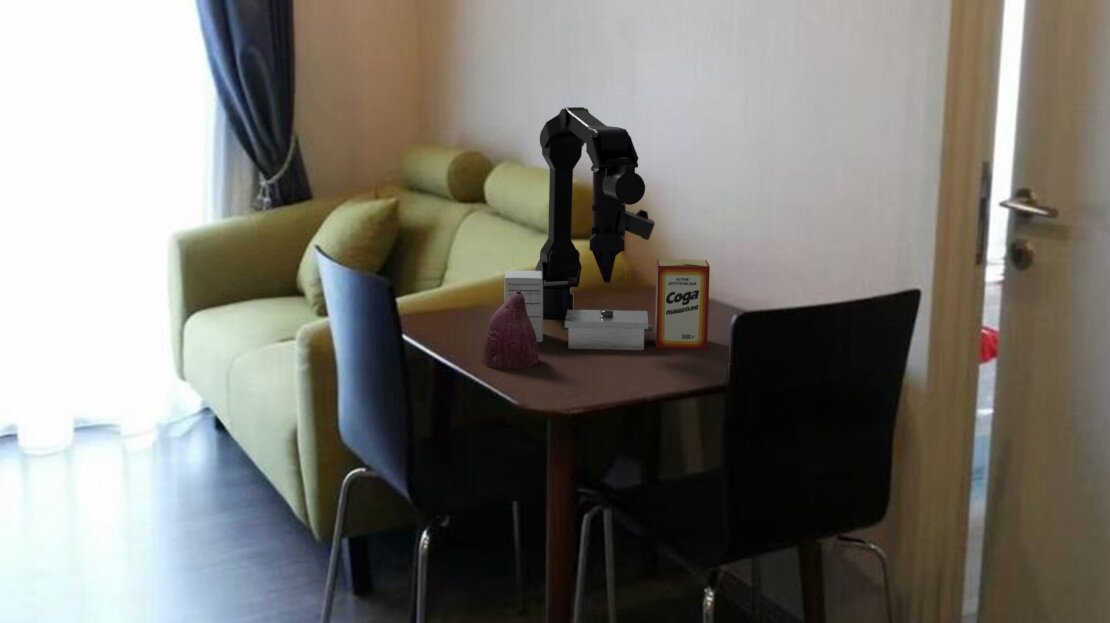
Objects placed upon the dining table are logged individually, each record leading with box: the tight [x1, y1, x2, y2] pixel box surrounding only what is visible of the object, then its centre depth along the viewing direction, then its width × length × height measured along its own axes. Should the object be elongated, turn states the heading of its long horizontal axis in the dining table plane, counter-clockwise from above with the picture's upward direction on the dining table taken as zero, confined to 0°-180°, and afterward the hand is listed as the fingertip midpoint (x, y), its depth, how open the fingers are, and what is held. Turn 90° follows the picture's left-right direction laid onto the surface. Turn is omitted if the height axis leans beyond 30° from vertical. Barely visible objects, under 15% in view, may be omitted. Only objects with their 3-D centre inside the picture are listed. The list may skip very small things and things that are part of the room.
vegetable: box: [481, 290, 539, 370], centre depth 213 cm, size 10×10×15 cm
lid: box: [564, 309, 649, 329], centre depth 228 cm, size 15×10×2 cm
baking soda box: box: [654, 259, 711, 350], centre depth 226 cm, size 10×6×16 cm
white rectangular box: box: [560, 321, 653, 351], centre depth 228 cm, size 17×10×4 cm, turn 87°
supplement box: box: [503, 270, 544, 343], centre depth 231 cm, size 7×7×13 cm
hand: (607, 282), depth 223 cm, fingers closed
